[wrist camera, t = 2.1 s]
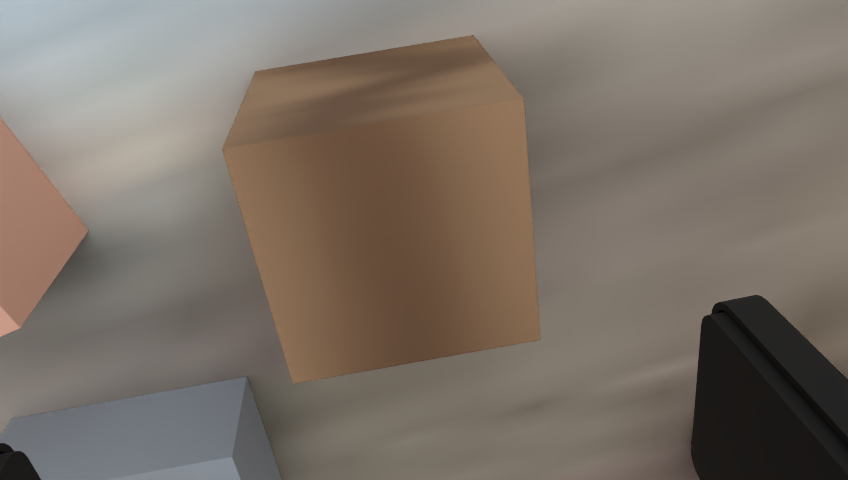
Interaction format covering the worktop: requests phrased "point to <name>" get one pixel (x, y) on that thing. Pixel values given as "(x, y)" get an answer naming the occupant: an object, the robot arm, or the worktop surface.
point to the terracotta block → (30, 232)
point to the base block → (151, 437)
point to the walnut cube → (388, 206)
